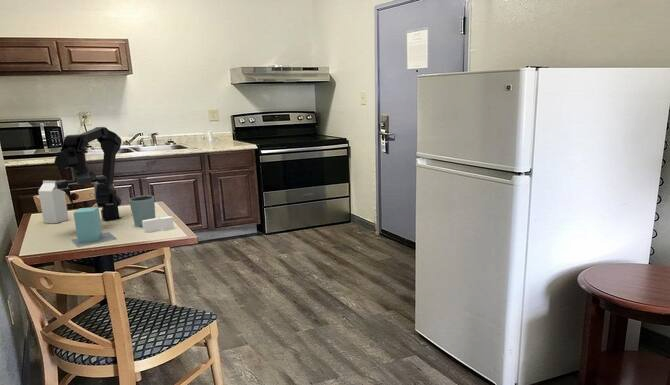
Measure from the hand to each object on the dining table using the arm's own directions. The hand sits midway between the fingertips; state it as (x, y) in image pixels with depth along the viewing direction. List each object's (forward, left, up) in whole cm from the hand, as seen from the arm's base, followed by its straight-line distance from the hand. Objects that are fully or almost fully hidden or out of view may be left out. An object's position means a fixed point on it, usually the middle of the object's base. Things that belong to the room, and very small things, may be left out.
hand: (84, 201), depth 195 cm
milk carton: (+8, -27, -12) cm, 31 cm away
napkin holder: (-22, +25, -13) cm, 35 cm away
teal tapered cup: (-20, +11, -12) cm, 26 cm away
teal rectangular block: (+3, +18, -12) cm, 22 cm away
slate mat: (+2, +19, -12) cm, 23 cm away
